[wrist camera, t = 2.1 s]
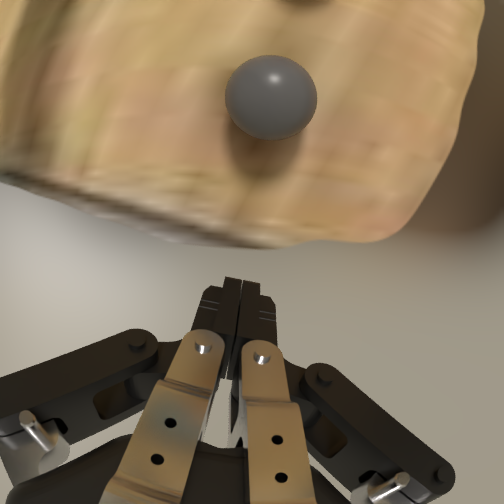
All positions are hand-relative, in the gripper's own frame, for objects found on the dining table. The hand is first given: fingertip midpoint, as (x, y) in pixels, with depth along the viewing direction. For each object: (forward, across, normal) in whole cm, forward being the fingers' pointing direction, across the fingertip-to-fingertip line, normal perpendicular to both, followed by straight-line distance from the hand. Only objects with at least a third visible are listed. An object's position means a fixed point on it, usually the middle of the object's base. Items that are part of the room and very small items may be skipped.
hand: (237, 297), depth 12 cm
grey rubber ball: (+7, 0, -9) cm, 12 cm away
